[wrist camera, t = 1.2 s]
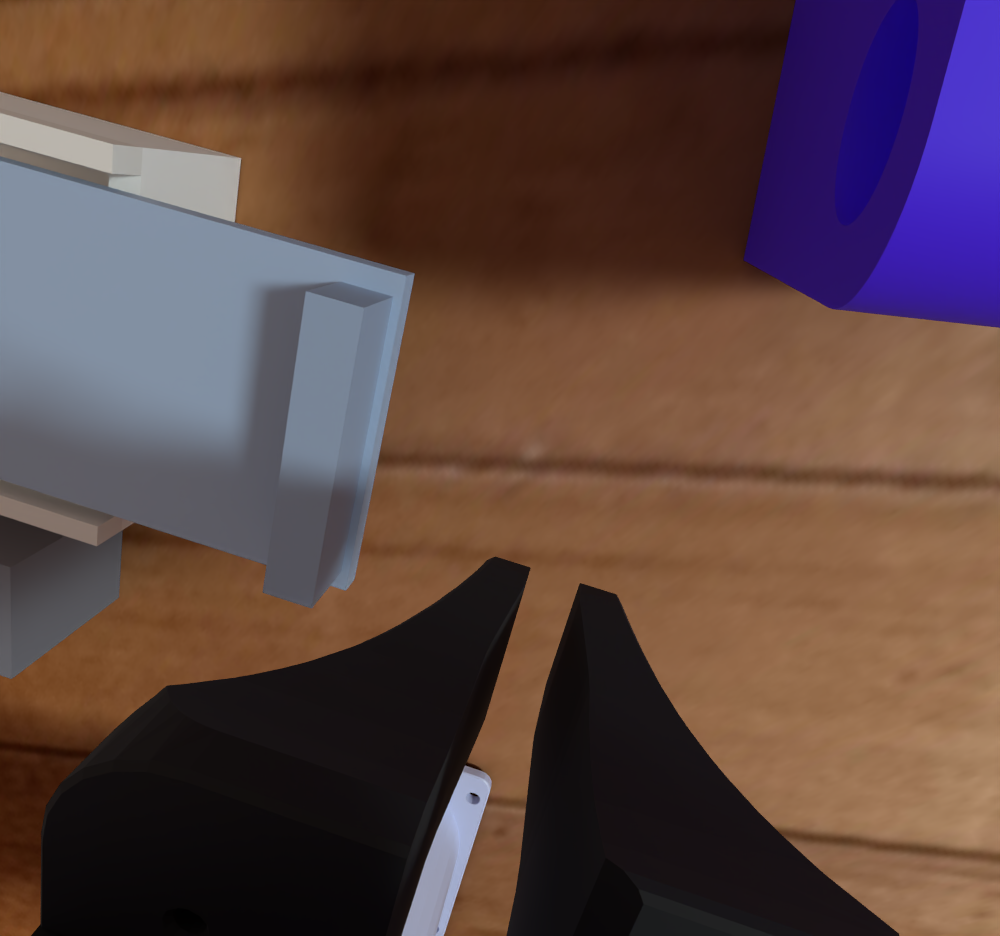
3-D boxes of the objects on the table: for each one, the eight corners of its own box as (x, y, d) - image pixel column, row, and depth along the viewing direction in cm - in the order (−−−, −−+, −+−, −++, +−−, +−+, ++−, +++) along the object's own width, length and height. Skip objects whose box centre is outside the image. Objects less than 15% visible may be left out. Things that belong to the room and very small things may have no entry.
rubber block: (119, 596, 27) (11, 678, 22) (21, 564, 27) (-106, 638, 23) (124, 500, 25) (10, 567, 21) (21, 468, 26) (-116, 525, 21)
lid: (354, 579, 19) (316, 628, 17) (-45, 451, 20) (-131, 482, 18) (414, 273, 16) (378, 284, 14) (-58, 139, 17) (-163, 130, 15)
